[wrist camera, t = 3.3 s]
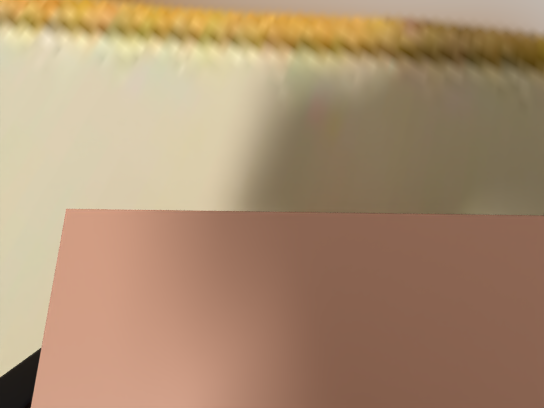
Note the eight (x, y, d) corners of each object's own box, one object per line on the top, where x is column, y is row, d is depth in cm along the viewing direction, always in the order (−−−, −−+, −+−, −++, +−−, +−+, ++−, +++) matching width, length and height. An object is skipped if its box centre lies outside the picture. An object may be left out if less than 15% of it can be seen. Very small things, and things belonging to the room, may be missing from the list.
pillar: (379, 403, 14) (798, 1187, 2) (254, 392, 14) (-60, 912, 2) (375, 273, 15) (617, 216, 3) (260, 269, 16) (66, 208, 4)
